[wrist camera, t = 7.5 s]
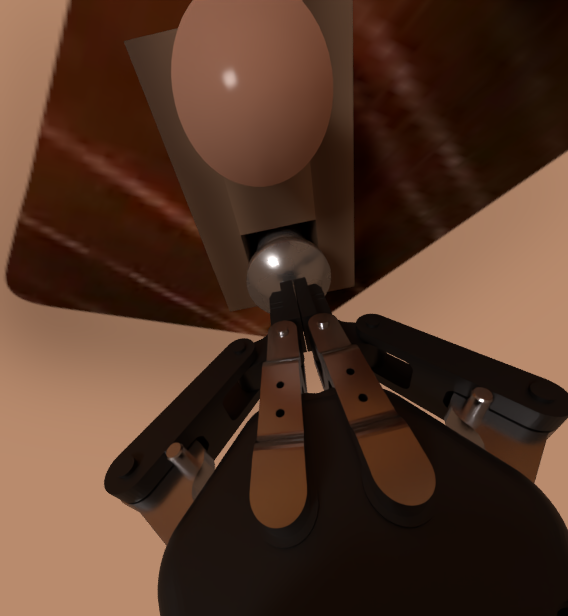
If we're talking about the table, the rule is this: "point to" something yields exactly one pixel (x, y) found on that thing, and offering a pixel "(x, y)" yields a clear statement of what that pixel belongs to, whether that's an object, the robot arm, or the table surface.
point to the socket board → (270, 199)
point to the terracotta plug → (252, 87)
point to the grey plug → (284, 263)
